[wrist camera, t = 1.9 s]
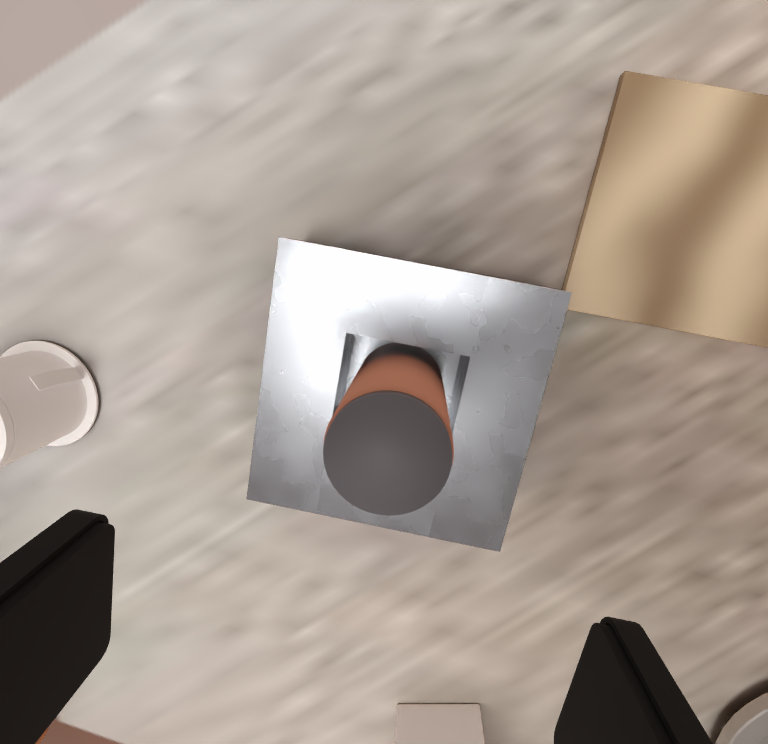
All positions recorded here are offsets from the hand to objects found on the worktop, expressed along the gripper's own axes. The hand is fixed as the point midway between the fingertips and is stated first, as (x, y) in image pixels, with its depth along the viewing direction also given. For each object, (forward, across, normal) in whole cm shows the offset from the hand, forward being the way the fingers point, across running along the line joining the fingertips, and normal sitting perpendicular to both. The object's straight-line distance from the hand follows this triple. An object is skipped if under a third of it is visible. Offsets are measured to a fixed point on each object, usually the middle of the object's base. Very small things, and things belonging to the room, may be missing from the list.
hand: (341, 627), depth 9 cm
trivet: (+20, -15, -12) cm, 27 cm away
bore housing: (+20, -1, 0) cm, 20 cm away
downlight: (+21, +22, +6) cm, 31 cm away
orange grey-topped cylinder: (+19, -1, 0) cm, 19 cm away
